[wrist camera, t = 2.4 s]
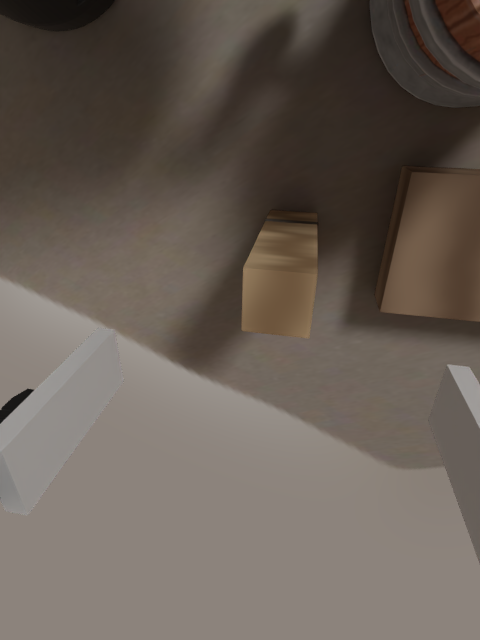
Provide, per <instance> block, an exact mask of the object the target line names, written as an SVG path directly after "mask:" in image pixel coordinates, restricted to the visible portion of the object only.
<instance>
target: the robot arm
mask: <svg viewBox="0 0 480 640" xmlns="http://www.w3.org/2000/svg"><path fill="white" fill-rule="evenodd" d="M113 2H114V0H0V14H2V15H4V16H6V17H7V18H10V19H12V20H14V21H17V22H20V23H23V24H26V25H30V26H33V27H36V28H40V29H44V30H51V31H65V30H72V29H75V28H79V27H81V26H84V25H86V24H88V23H90V22H92V21H93V20H95V19H96V18H98V17H99V16H100V15H101V14H103V13H104V12H105V11H106V10H107V9H108V8H109V6H110V5H111V4H112V3H113ZM123 382H124V380H123V374H122V368H121V362H120V357H119V351H118V346H117V339H116V333H115V329H106V328H97V329H96V330H95V331H94V332H93V333H92V334H91V335H90V336H89V337H88V338H87V339H86V340H85V341H84V342H83V343H82V344H81V345H80V346H79V347H78V348H77V349H76V350H75V351H74V352H73V353H72V354H71V355H70V356H69V357H68V358H67V359H66V360H65V361H64V362H63V363H62V364H61V365H60V366H59V367H58V368H57V369H55V370H54V372H52V374H50V375H49V376H48V377H47V378H46V380H44V381H43V382H42V383H41V384H40V385H39V386H38V387H37V388H36V389H35V390H32V389H27V390H25V391H23V392H21V393H20V394H18V395H16V396H14V397H13V398H12V399H11V400H10V401H8V402H7V403H6V404H5V405H4V406H3V407H2V410H0V500H1V503H2V505H3V507H4V509H5V511H7V512H12V513H18V514H23V515H29V513H30V512H31V510H32V509H33V508H34V506H35V505H36V503H37V502H38V501H39V499H40V498H41V496H42V495H43V494H44V492H45V491H46V489H47V488H48V487H49V485H50V484H51V482H52V481H53V480H54V478H55V477H56V475H57V474H58V473H59V471H60V470H61V468H62V467H63V466H64V464H65V463H66V462H67V460H68V459H69V457H70V456H71V455H72V453H73V452H74V450H75V449H76V448H77V446H78V445H79V443H80V442H81V441H82V439H83V438H84V436H85V435H86V434H87V432H88V431H89V429H90V428H91V427H92V425H93V424H94V422H95V421H96V420H97V418H98V417H99V415H100V414H101V412H102V411H103V410H104V409H105V407H106V406H107V404H108V403H109V402H110V400H111V399H112V397H113V396H114V395H115V393H116V392H117V390H118V389H119V388H120V386H121V385H122V383H123ZM428 421H429V424H430V427H431V430H432V432H433V435H434V438H435V441H436V443H437V446H438V449H439V452H440V455H441V457H442V460H443V463H444V466H445V468H446V471H447V474H448V477H449V479H450V482H451V485H452V488H453V491H454V493H455V496H456V499H457V502H458V505H459V507H460V509H461V513H462V516H463V518H464V521H465V524H466V527H467V529H468V532H469V535H470V538H471V541H472V543H473V546H474V549H475V552H476V555H477V557H478V560H479V563H480V384H479V382H478V381H477V379H476V377H475V376H474V374H473V372H472V371H471V369H470V367H465V366H456V365H447V366H446V369H445V372H444V375H443V378H442V381H441V384H440V387H439V390H438V393H437V396H436V399H435V402H434V404H433V407H432V410H431V413H430V416H429V419H428Z"/></svg>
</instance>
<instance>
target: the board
mask: <svg viewBox="0 0 480 640" xmlns="http://www.w3.org/2000/svg"><path fill="white" fill-rule="evenodd" d="M374 295H375V298H376V301H377V304H378V307H379V311H380V312H385V313H395V314H405V315H415V316H426V317H436V318H446V319H456V320H466V321H477V322H480V169H463V168H440V167H418V166H402V169H401V174H400V178H399V183H398V188H397V192H396V197H395V202H394V206H393V211H392V216H391V220H390V225H389V229H388V234H387V239H386V243H385V248H384V253H383V257H382V262H381V267H380V271H379V276H378V280H377V285H376V290H375V294H374Z"/></svg>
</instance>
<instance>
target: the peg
mask: <svg viewBox="0 0 480 640" xmlns="http://www.w3.org/2000/svg"><path fill="white" fill-rule="evenodd" d="M317 229H318V222H317V213H310V212H294V211H278V210H270V212H269V214H268V216H267V218H266V219H265V223H264V225H263V227H262V229H261V231H260V233H259V235H258V238H257V240H256V242H255V244H254V246H253V248H252V250H251V252H250V255H249V257H248V259H247V261H246V263H245V265H244V267H243V294H242V329H241V331H247V332H256V333H265V334H274V335H283V336H292V337H301V338H309V336H310V329H311V321H312V313H313V306H314V298H315V290H316V283H317V275H318V242H317Z"/></svg>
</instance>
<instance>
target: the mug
mask: <svg viewBox="0 0 480 640" xmlns="http://www.w3.org/2000/svg"><path fill="white" fill-rule="evenodd" d="M370 15H371V26H372V33H373V36H374V40H375V43H376V47H377V50H378V53H379V55H380V57H381V59H382V61H383V63H384V65H385V67H386V69H387V70H388V72H389V73H390V74H391V76H392V77H393V78H394V79H395V80H396V81H397V82H398V84H399V85H400V86H401V87H402V88H404V89H405V90H407V91H408V92H409V93H411V94H412V95H414V96H415V97H416V98H419V99H421V100H424V101H426V102H429V103H431V104H434V105H439V106H446V107H453V108H458V107H471V106H479V105H480V0H370Z"/></svg>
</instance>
